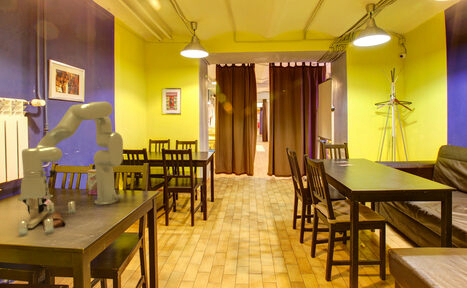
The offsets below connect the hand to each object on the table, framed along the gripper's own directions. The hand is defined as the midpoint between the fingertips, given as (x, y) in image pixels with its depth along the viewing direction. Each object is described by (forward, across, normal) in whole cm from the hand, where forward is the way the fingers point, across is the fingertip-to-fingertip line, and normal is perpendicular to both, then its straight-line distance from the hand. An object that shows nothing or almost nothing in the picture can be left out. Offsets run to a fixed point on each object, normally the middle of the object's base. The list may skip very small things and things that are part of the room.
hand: (36, 212), depth 126 cm
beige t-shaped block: (+4, 0, 0) cm, 4 cm away
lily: (+6, +11, -30) cm, 33 cm away
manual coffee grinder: (+6, +20, -50) cm, 54 cm away
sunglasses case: (+7, -7, +1) cm, 10 cm away
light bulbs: (+6, -6, 0) cm, 8 cm away
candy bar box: (+6, -13, -50) cm, 52 cm away
